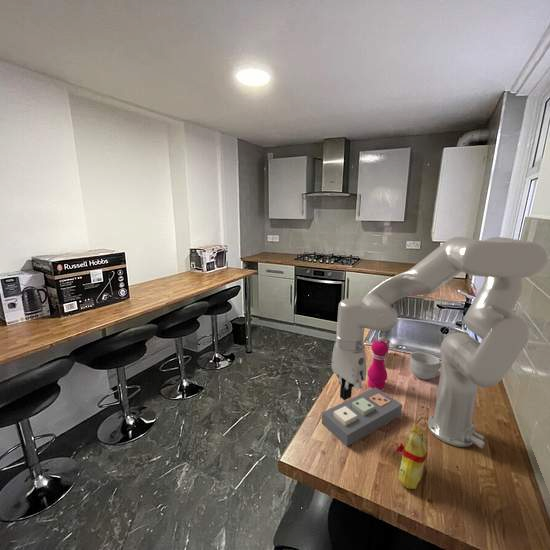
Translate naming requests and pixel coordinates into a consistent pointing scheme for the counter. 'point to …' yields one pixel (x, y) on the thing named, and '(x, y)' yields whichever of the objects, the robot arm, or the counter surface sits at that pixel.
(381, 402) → the tile three
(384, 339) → the tin
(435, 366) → the teacup
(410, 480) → the chocolate bunny
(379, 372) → the pink bowling pin
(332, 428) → the console
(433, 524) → the counter surface
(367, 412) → the tile two
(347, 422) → the tile one
